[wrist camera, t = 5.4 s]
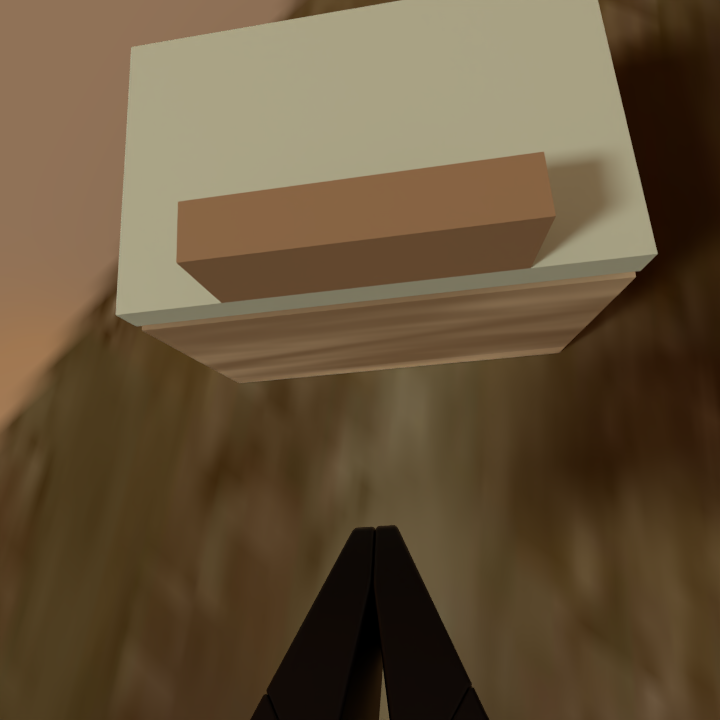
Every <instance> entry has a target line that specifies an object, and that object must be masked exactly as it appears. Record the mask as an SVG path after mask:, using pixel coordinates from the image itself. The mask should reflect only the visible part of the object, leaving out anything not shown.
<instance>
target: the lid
mask: <svg viewBox="0 0 720 720" xmlns="http://www.w3.org/2000/svg"><path fill="white" fill-rule="evenodd" d="M122 200H123V201H122V216H121V233H120V250H119V267H118V284H117V301H116V315H117V316H118V317H120V318H122V319H124V320H126V321H128V322H129V323H131V324H133V325H135V326H143V325H152V324H161V323H170V322H179V321H188V320H197V319H207V318H216V317H225V316H234V315H243V314H252V313H261V312H270V311H279V310H289V309H298V308H307V307H316V306H325V305H334V304H343V303H352V302H361V301H370V300H380V299H389V298H398V297H407V296H416V295H425V294H434V293H443V292H452V291H462V290H471V289H480V288H489V287H498V286H507V285H516V284H525V283H534V282H543V281H553V280H562V279H571V278H580V277H589V276H598V275H607V274H616V273H625V272H635V271H641V270H642V269H643V268H644V267H645V266H646V265H647V264H648V263H649V262H650V261H651V260H652V259H653V258H654V257H655V256H656V255H657V254H658V253H657V249H656V244H655V240H654V236H653V232H652V228H651V223H650V219H649V215H648V211H647V206H646V202H645V198H644V194H643V190H642V185H641V181H640V177H639V173H638V168H637V164H636V160H635V156H634V152H633V147H632V143H631V139H630V135H629V130H628V126H627V122H626V118H625V114H624V109H623V105H622V101H621V97H620V92H619V88H618V84H617V80H616V76H615V71H614V67H613V63H612V59H611V54H610V50H609V46H608V42H607V38H606V33H605V29H604V25H603V21H602V17H601V12H600V8H599V4H598V0H401V1H395V2H390V3H384V4H378V5H372V6H366V7H361V8H355V9H349V10H343V11H338V12H332V13H326V14H320V15H315V16H309V17H303V18H297V19H291V20H286V21H280V22H274V23H268V24H263V25H257V26H251V27H245V28H240V29H234V30H228V31H222V32H217V33H211V34H206V35H199V36H193V37H188V38H182V39H176V40H170V41H165V42H159V43H153V44H147V45H141V46H136V47H131V62H130V79H129V96H128V113H127V130H126V147H125V165H124V182H123V199H122Z"/></svg>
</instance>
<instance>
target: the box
mask: <svg viewBox="0 0 720 720" xmlns="http://www.w3.org/2000/svg"><path fill="white" fill-rule="evenodd" d="M635 278H636V274H635V272H625V273H616V274H607V275H598V276H589V277H580V278H571V279H562V280H553V281H543V282H534V283H525V284H516V285H507V286H498V287H489V288H480V289H471V290H462V291H452V292H443V293H434V294H425V295H416V296H407V297H398V298H389V299H380V300H370V301H361V302H352V303H343V304H334V305H325V306H316V307H307V308H298V309H289V310H279V311H270V312H261V313H252V314H243V315H234V316H225V317H216V318H207V319H197V320H188V321H179V322H170V323H161V324H152V325H143V326H142V331H144V332H145V333H147V334H149V335H151V336H153V337H155V338H157V339H158V340H160V341H162V342H164V343H166V344H168V345H169V346H171V347H173V348H175V349H177V350H179V351H181V352H182V353H184V354H186V355H188V356H190V357H192V358H193V359H195V360H197V361H199V362H201V363H203V364H205V365H206V366H208V367H210V368H212V369H214V370H216V371H217V372H219V373H221V374H223V375H225V376H227V377H229V378H230V379H232V380H234V381H236V382H238V383H246V382H256V381H267V380H277V379H288V378H299V377H309V376H320V375H330V374H341V373H351V372H362V371H372V370H383V369H393V368H404V367H415V366H425V365H436V364H446V363H457V362H467V361H478V360H488V359H499V358H510V357H520V356H531V355H541V354H552V353H559V352H560V351H561V350H562V349H563V348H564V347H565V346H566V345H567V344H568V343H569V342H571V341H572V340H573V339H574V338H575V337H576V336H577V335H578V334H579V333H580V332H581V331H582V330H583V329H584V328H585V327H586V326H587V325H588V324H589V323H590V322H591V321H592V320H593V319H594V318H595V317H596V316H597V315H598V314H599V313H600V312H601V311H602V310H603V309H604V308H605V307H606V306H607V305H608V304H609V303H610V302H611V301H612V300H613V299H614V298H615V297H616V296H617V295H618V294H619V293H620V292H621V291H622V290H623V289H624V288H625V287H626V286H627V285H628V284H629V283H630V282H631V281H632V280H633V279H635Z"/></svg>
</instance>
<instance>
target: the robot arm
mask: <svg viewBox="0 0 720 720" xmlns="http://www.w3.org/2000/svg"><path fill="white" fill-rule="evenodd" d="M382 671H384V679H385V687H386V695H387V703H388V711H389V719H390V720H489V718H488V716H487V714H486V712H485V710H484V708H483V706H482V704H481V702H480V700H479V698H478V695H477V693H476V691H475V689H474V688H473V687H472V684H471V681H470V679H469V677H468V675H467V673H466V671H465V669H464V666H463V664H462V662H461V660H460V658H459V656H458V654H457V652H456V650H455V648H454V645H453V643H452V641H451V639H450V637H449V635H448V633H447V631H446V629H445V626H444V624H443V622H442V620H441V618H440V616H439V614H438V612H437V610H436V607H435V605H434V603H433V601H432V599H431V597H430V595H429V593H428V591H427V589H426V586H425V584H424V582H423V580H422V578H421V576H420V574H419V572H418V570H417V567H416V565H415V563H414V561H413V559H412V557H411V555H410V553H409V551H408V548H407V546H406V544H405V542H404V540H403V538H402V536H401V534H400V532H399V530H398V528H397V527H396V526H395V525H390V526H378V527H377V528H376V530H375V528H374V527H360V528H355V529H354V530H353V531H352V533H351V535H350V537H349V538H348V540H347V542H346V544H345V546H344V548H343V549H342V551H341V553H340V555H339V557H338V559H337V561H336V562H335V564H334V566H333V568H332V570H331V572H330V574H329V575H328V577H327V579H326V581H325V583H324V585H323V586H322V588H321V590H320V592H319V594H318V596H317V598H316V599H315V601H314V603H313V605H312V607H311V609H310V611H309V612H308V614H307V616H306V618H305V620H304V622H303V623H302V625H301V627H300V629H299V631H298V633H297V635H296V636H295V638H294V640H293V642H292V644H291V646H290V648H289V649H288V651H287V653H286V655H285V657H284V659H283V660H282V662H281V664H280V666H279V668H278V670H277V672H276V673H275V675H274V677H273V679H272V681H271V683H270V685H269V686H268V688H267V694H268V695H267V694H265V695H263V697H262V699H261V701H260V703H259V704H258V706H257V708H256V710H255V712H254V714H253V716H252V717H251V719H250V720H379V711H380V698H381V684H382Z"/></svg>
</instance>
